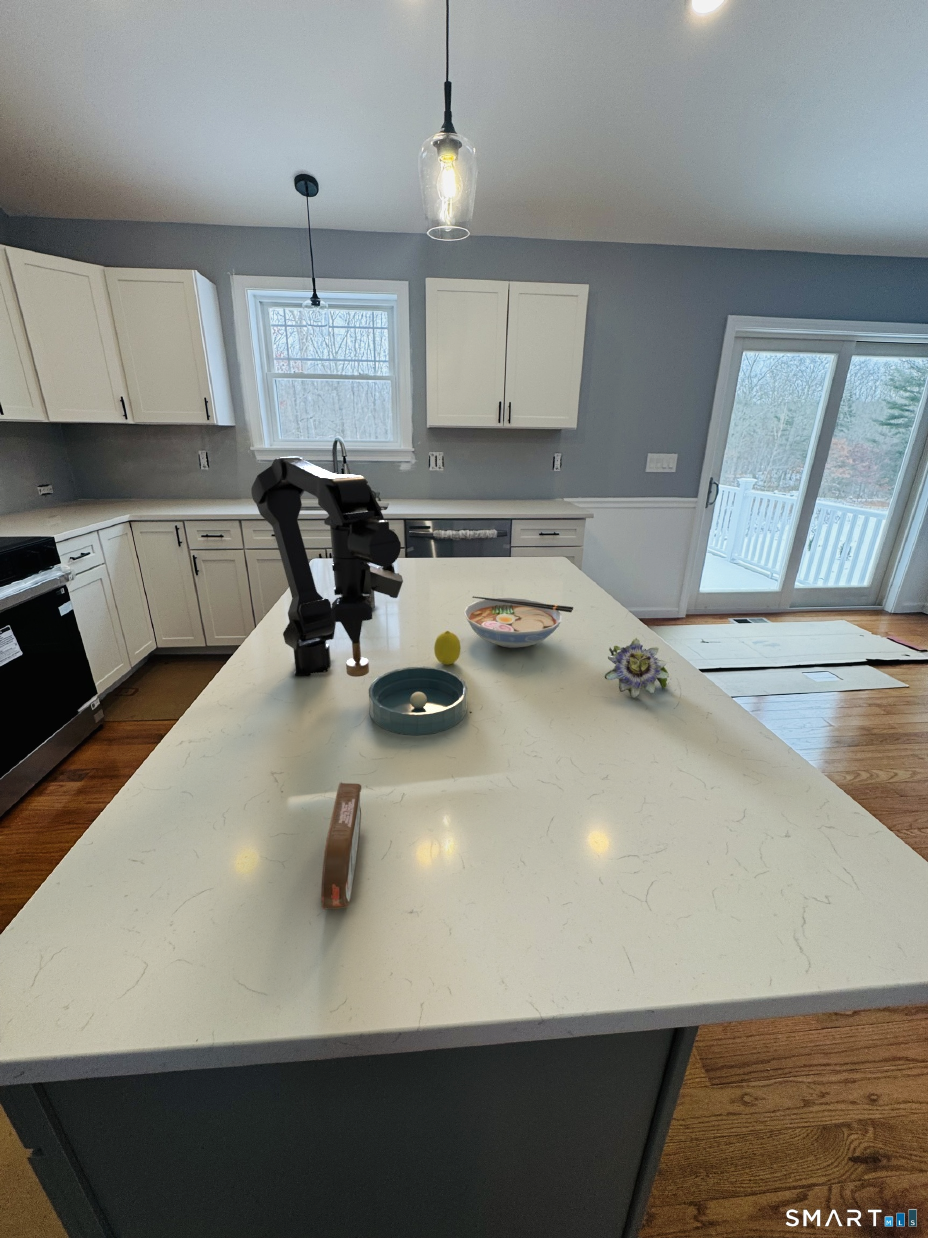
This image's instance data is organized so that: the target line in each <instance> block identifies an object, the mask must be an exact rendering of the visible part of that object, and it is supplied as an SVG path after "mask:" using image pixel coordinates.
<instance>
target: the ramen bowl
mask: <svg viewBox="0 0 928 1238" xmlns="http://www.w3.org/2000/svg"><path fill="white" fill-rule="evenodd" d="M471 598H472V599H479V600H477V601H475V602H473V603H471V604H469V605H467V606H466V607H465V609H464V611H463V614H464V617H465V619H466V621H467V622H468V624H469V626H470V627H471V629H472V630H473V632H474V633H475V635H477V636H478V637H480V638H481V639H483V640H485V641H486V642H488V643H490V644H492V645H496V646H500V647H503V648H508V649H519V648H524V647H525V648H526V647H530V646H533V645H537V644H539V643H541V642H543V641H544V640H546V639H547V638H549V637H550V636H551V634H553V633H555V631H556V630H557V628H558V627H559V626H560V624H561V623H562V620H563V619H562V618H563V617H562V616H563V615H562V612H566V613H572V612H573V611H574V606H570V605H569V606H567V605H558V604H548V603H544V602H542V601H537V600H534V599H533V600H532V599H528V598H518V597H482V596H475V595H473V596H472V597H471Z"/></svg>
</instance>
